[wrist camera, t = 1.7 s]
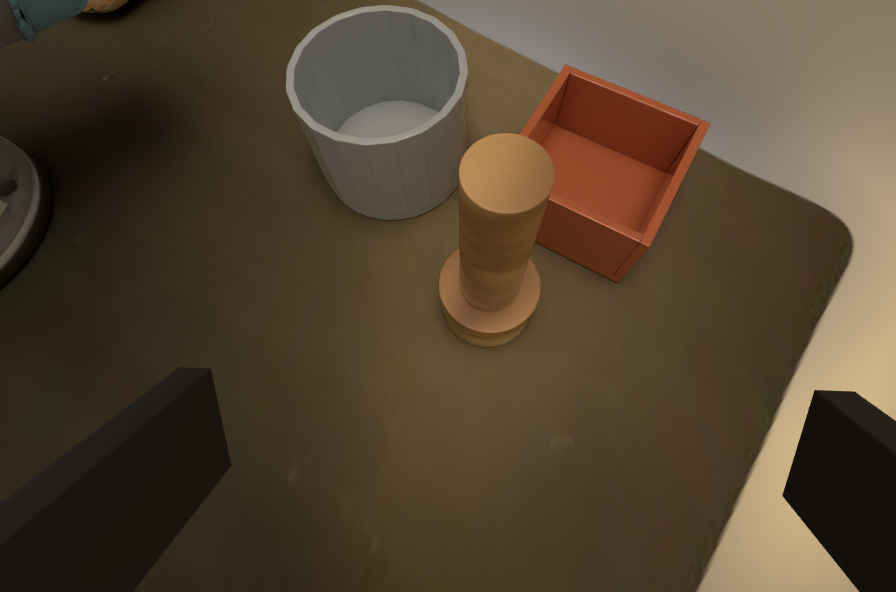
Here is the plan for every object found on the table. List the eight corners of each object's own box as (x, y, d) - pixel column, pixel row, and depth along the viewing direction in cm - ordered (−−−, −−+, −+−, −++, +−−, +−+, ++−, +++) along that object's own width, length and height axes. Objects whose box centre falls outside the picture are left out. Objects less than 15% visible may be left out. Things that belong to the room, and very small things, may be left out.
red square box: (488, 219, 33) (493, 173, 28) (550, 122, 36) (565, 63, 31) (618, 283, 31) (649, 247, 26) (672, 175, 34) (711, 122, 29)
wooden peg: (424, 320, 31) (391, 197, 17) (469, 248, 32) (475, 83, 18) (504, 365, 29) (544, 276, 15) (547, 289, 31) (618, 145, 17)
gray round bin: (297, 181, 35) (248, 97, 27) (376, 84, 38) (354, -16, 30) (417, 244, 33) (403, 174, 25) (491, 136, 36) (499, 43, 28)
